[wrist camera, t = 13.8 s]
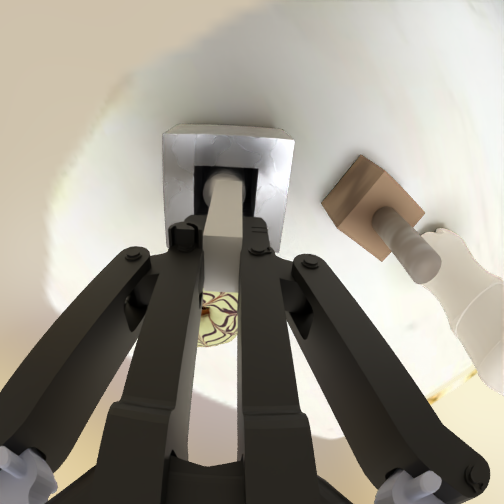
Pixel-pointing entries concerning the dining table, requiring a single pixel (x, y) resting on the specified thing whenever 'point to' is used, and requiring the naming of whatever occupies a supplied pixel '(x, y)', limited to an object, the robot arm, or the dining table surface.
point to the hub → (225, 173)
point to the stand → (381, 218)
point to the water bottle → (470, 304)
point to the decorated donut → (218, 318)
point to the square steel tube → (228, 155)
